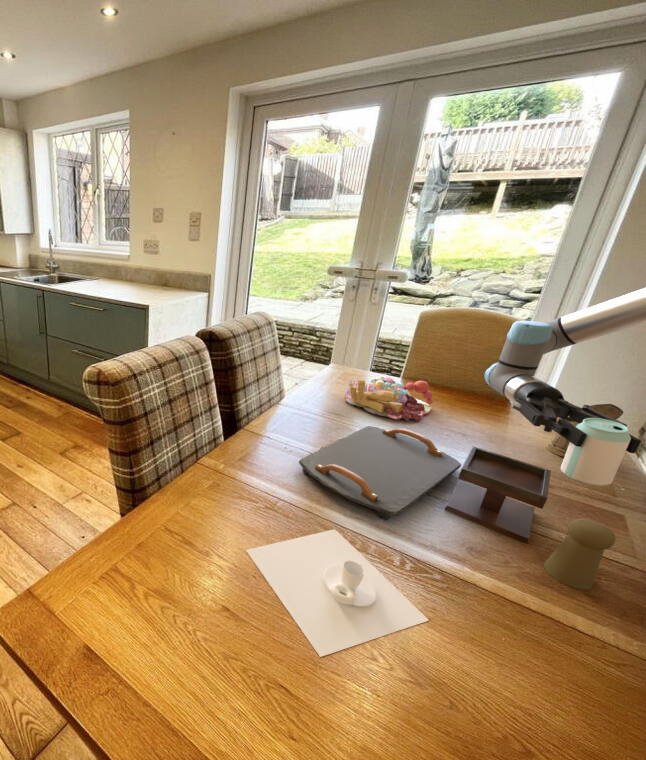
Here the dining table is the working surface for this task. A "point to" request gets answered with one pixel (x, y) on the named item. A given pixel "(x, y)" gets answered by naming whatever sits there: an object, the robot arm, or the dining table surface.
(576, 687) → the dining table surface
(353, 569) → the teacup and saucer
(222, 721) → the dining table surface
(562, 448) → the wooden mug
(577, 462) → the can
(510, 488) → the brown pedestal stand
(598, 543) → the cork
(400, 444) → the serving tray
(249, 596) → the dining table surface
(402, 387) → the candy landscape model
